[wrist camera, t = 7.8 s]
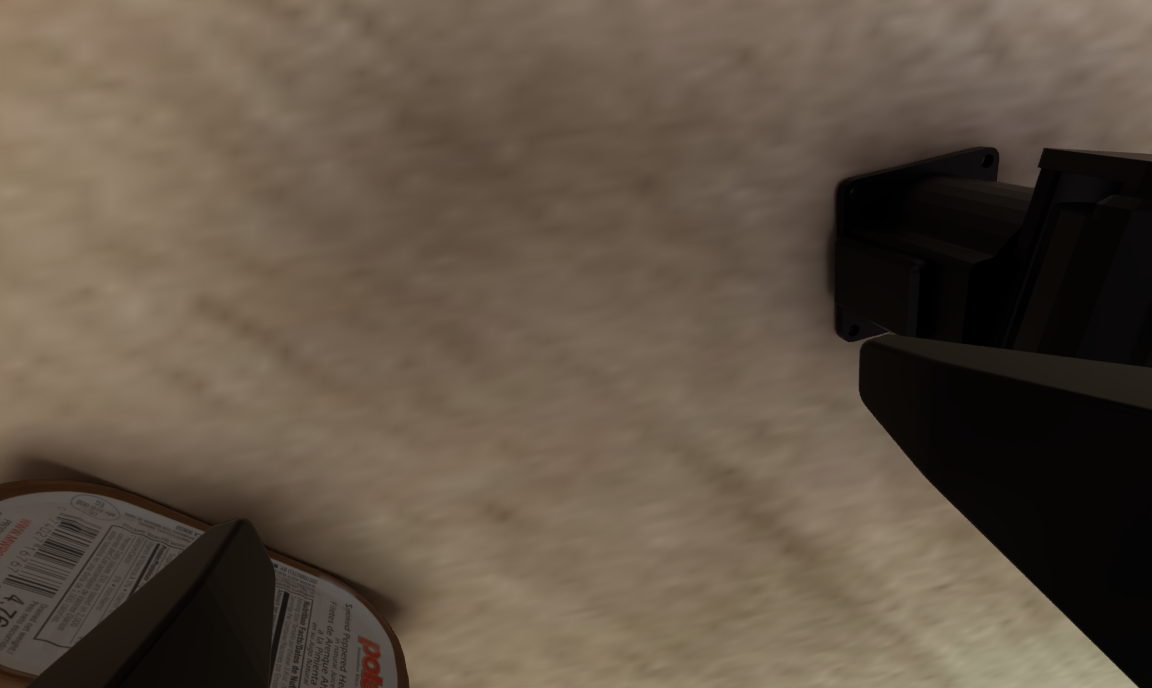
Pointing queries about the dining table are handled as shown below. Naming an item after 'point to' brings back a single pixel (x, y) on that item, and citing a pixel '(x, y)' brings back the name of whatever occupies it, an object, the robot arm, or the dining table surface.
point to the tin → (137, 553)
